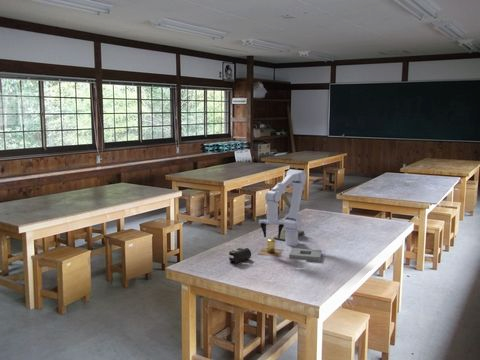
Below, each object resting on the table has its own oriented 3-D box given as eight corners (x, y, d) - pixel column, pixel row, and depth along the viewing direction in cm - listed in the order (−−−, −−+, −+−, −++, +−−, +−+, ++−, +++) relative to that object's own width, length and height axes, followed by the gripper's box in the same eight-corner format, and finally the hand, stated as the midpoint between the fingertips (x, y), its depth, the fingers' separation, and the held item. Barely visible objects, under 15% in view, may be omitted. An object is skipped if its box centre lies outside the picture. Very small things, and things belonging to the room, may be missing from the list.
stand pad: (262, 249, 263) (262, 248, 263) (283, 251, 260) (283, 249, 260) (257, 256, 252) (257, 254, 252) (280, 257, 249) (280, 256, 249)
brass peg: (267, 250, 259) (267, 238, 257) (275, 251, 258) (275, 238, 256) (266, 253, 254) (266, 240, 253) (274, 253, 253) (274, 241, 252)
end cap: (239, 266, 236) (239, 253, 235) (228, 263, 240) (228, 250, 239) (251, 261, 244) (251, 248, 242) (240, 258, 248) (240, 246, 247)
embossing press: (305, 234, 296) (307, 187, 291) (286, 242, 277) (287, 193, 272) (290, 231, 302) (292, 185, 297) (271, 239, 283) (272, 190, 278)
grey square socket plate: (292, 252, 258) (292, 248, 258) (321, 254, 255) (321, 250, 254) (289, 259, 247) (289, 254, 246) (319, 261, 243) (319, 257, 243)
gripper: (257, 213, 249) (257, 238, 252) (284, 215, 246) (284, 240, 248) (260, 210, 256) (260, 234, 258) (286, 212, 253) (286, 236, 255)
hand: (272, 237), depth 254 cm, fingers open, 7 cm apart
